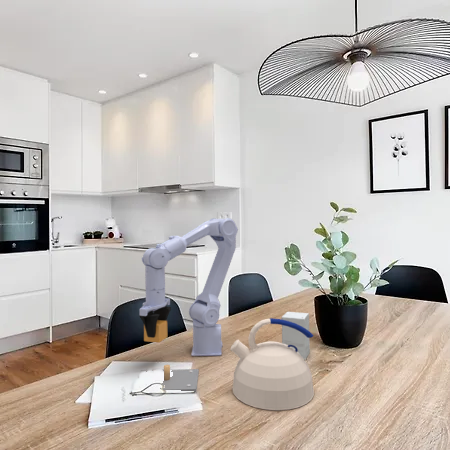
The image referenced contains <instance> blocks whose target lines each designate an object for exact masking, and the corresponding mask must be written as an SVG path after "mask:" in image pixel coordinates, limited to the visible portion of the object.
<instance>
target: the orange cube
mask: <svg viewBox="0 0 450 450" xmlns="http://www.w3.org/2000/svg"><path fill="white" fill-rule="evenodd" d="M166 339H168V320H167V321H163V320H157V324H156V334H155V337H154V338H152V337H148V336H147V333H146V329H145V326H144V325H143V341H144V342H148V343H149V342H151V343H159V344H160V343H161V342H163V341H164V340H166Z"/></svg>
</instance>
